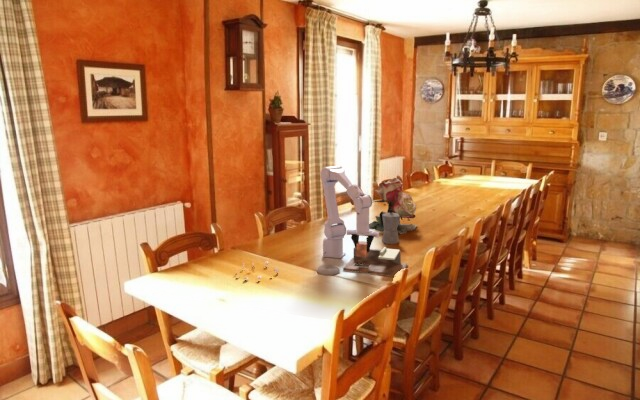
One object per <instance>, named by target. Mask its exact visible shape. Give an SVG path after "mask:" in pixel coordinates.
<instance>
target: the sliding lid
mask: <svg viewBox="0 0 640 400" xmlns="http://www.w3.org/2000/svg"><path fill="white" fill-rule="evenodd" d="M380 250H381V251H380V255H379V257H378V259H387V260H395V258H396V257H397V255H398V254H399V252H401V249H396V248H387V246H383V248H382V249H380Z"/></svg>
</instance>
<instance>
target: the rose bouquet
mask: <svg viewBox="0 0 640 400" xmlns="http://www.w3.org/2000/svg"><path fill="white" fill-rule="evenodd" d="M402 186H403V182H402V181H401V180H400V179H399V178H398V177H393V178H392V179H389V180H387V182H386V181H384V180H383V182H381V183H379V187H380V188H378V189H374V191H375V192H376V193H377V196H378V198H380V200H372V203H384V204H383V206H388V207H387V213H390V209H392V213H397V214H399V215H400V219H399V223H398V227H397V231H398V235H403V234H407V232H408V231H409V232H410V231H413V230H415V229H416V228H417V226H418V225H417V224H413V223H409V224H406V223H405V224H404V223H401V221H403V222H404V219H407V221H411V219H415V218H416V214H415V213H416V211H417V210H416V209H417V203H416V204H415V203H414V201H413V197H412V196H411V194H409V193H405V192H403V188H402ZM385 203H387V205H386V204H385ZM374 218H375V220H374V221H372V222H371V223H370V222H369V230H374V231H376V232H384V227H383V226H382V224H381V220H380V215H379V216H378V215H375V216H374Z"/></svg>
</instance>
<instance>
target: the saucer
mask: <svg viewBox="0 0 640 400" xmlns="http://www.w3.org/2000/svg"><path fill="white" fill-rule="evenodd" d="M316 270H317V271H316V272H317V273H318V274H319V273H320V274H319V275H322V274H323V276H334V275H337V274H339V273H340V272H341V269H340V267H338V266H337V265H332V264H331V265H329V264H326V265H321V266H318V268H317V269H316Z"/></svg>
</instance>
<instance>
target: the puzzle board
mask: <svg viewBox="0 0 640 400" xmlns="http://www.w3.org/2000/svg"><path fill="white" fill-rule="evenodd" d="M381 250H382V249H377V248H375V249H374V248H370V250H369V255H368V256H367V257H366V258H365V257H356V249H355V246H354V247H353V257H352V258H351V259H350V260H349V261H348V262H347V263H346V264H345V265H344V267H342V268H343V272H344V271H346V272H353V273H361V274H371V275H378V276H379V275H381V276H388V277H390V276H391V277H395V276H394V275H395V274H396V273H397V272H398V271H400V270H401V269H404V268H406V269H407V267H408V262H401V261H402V260H401V259H402V257H401V256H402V252H401V251H400V252H399V254H398V255H397V257H396V258H395V260H387V259H378V257H379V255H380V251H381ZM357 265H364V266H357ZM365 266H367V267H365Z"/></svg>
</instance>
